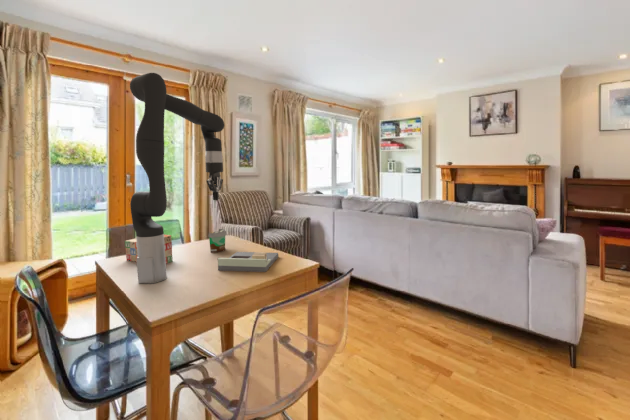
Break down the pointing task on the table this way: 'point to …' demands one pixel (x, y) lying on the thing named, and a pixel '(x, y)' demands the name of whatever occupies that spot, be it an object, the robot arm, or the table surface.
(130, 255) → the stack of blocks
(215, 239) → the food container
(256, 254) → the maple block
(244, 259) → the grey panel with windows
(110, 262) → the table surface
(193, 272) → the table surface
